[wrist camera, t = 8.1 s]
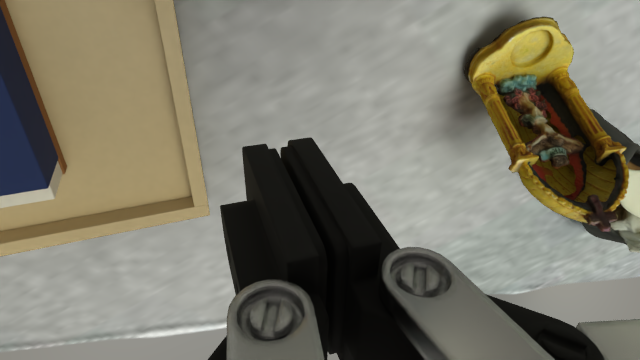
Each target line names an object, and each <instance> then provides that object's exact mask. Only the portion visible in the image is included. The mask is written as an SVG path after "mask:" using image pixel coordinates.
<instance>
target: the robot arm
mask: <svg viewBox="0 0 640 360" xmlns="http://www.w3.org/2000/svg"><path fill="white" fill-rule="evenodd" d="M242 152H243V164H244V174H245V185H246V196H247V201H243V202H237V203H232V204H226V205H220V209H221V217H222V224H223V231H224V238H225V244H226V250H227V255H228V260H229V265H230V270H231V275H232V279H233V284H234V288H235V293H236V296H235V297H234V299H233V301H232V302H231V304H230V306H229V310H228V315H227V336H226V337H225V339H224V340H223V341H222V342H221V344H220V345H219V346H218V347H217V349H216V350H215V351H214V353H213V354H212V355H211V356H210V358H209V359H208V360H327V352H329V354H334V353H337V355H338V357H339V359H340V360H640V319H633V320H616V321H599V322H582V323H578V325H577V327H576V328H575V327H574V326H572V325H569V324H567V323H565V322H563V321H561V320H558V319H555V318H552V317H549V316H546V315H544V314H541V313H538V312H535V311H532V310H529V309H526V308H523V307H520V306H518V305H515V304H512V303H509V302H506V301H503V300H500V299H497V298H495V297H492V296H489V295H486V294H484V293H483V292H482V291H481V290H480V289H479V288H478V287H477V286H476V285H475V284H474V283H473V282H472V281H471V280H470V279H468V278H467V277H466V276H465V275H464V274H463V273H462V272H461V271H460V270H459V269H458V268H457V267H456V266H455V265H454V264H453V263H451V262H450V261H449V260H448V259H446V258H445V257H444V256H442V255H441V254H439V253H436V252H434V251H432V250H429V249H424V248H420V247H406V248H402V249H400V248H399V247H398V245H397V244H396V243H395V241H394V240H393V238H392V237H391V236H390V234H389V233H388V231H387V230H386V229H385V227H384V226H383V224H382V223H381V222H380V220H379V219H378V217H377V216H376V215H375V213H374V212H373V210H372V209H371V207H370V206H369V205H368V203H367V202H366V200H365V199H364V198H363V196H362V195H361V193H360V192H359V191H358V189H357V188H356V187H355V185H354V184H352V183H346V184H343V183H342V182H341V180H340V179H339V177H338V176H337V174H336V173H335V171H334V170H333V168H332V167H331V165H330V164H329V162H328V161H327V159H326V158H325V156H324V155H323V153H322V152H321V150H320V149H319V148H318V146H317V145H316V143H315V142H314V140H313V139H312V138H303V139H296V140H289V141H288V147H282V148H281V158H280V156H279V154H278V152H277V150H276V149H275V148H274V149H268V147H267V145H266V144H260V145H253V146H246V147H243V148H242Z"/></svg>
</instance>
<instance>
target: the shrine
mask: <svg viewBox="0 0 640 360" xmlns="http://www.w3.org/2000/svg"><path fill="white" fill-rule="evenodd" d="M573 54H574V51H573V47H572V46H571V44H570V42H569V41H568V39H567V37H566V36H565V35H564V34H562V33H561V31H560V29H559V26H558V23H557V22H556V21H554V19H553V18H549V17H540V18H538V17H536V18H532V19H529V20H524V21H521V22H520V23H518V24H517V25H515V26H512V27H510V28H507V29H505V30H504V31H503V32H502V33H501V34H500V35H499V36H498V37H497V38H495V39H494V40H493V42H492V43H491V44H489V45H487V46H485V47H483V48H478V49H476V50H475V51H474V52H473V54H472V55H471V56H470V58H469V60H468V62H467V64H466V66H465V70H464V74H465V77H466V79H467V80H468V82H470V83H471V84H472V87H473V89H474V90H475V91H476V93H477V94H478V95H480V96H481V99H482V101H483V103H484V104H485V106H486V109H487V111H488V114H489V116H490V117H491V120H492V122H493V123H494V126H495V127H496V129H497V131H498V133H499V135H500V137H501V140H502V142H503V144H504V145H505V148H506V150H507V151H508V154H509V156H510V157H511V162H512V164H511V165H510V167H509V170H510V171H511V172H512V173H513V172H518V173H519V176H520V178H521V181H522V183H523V184H524V186H525V187H526V188H527V189H528V191H529V192H530V193H531V194H532V195H533V196H534V197H535V198H537V199H538V200H539V201H540V202H541V203H542V204H543V205H545V206H546V207H548V208H550V209H551V210H553V211H554V212H556V213H558V214H561V215H563V216H565V217H568V218H571V219H574V220H577V221H580V222H585V223H588V225H590V224H591V225H593V226H597V227H598V228H599V229H600V230H601V231H602V232H604V231H606V232H609V231H610V227H611V223H609V222H612V221H616V220H617V219H618V215H617V214H616V213H614V212H612V211H613V210H615V209H616V207H617V206H618V205H620V201H621V200H623V199H624V198H625V197H626V196H624V195H625V194H627V190H626V189H628V184H629V181H628V179H629V168H628V166H627V165H626V164H625V163H626V160H625V157H624V155H623V154H622V152H623V151H625V150H626V148H627V147H625V146H622V145H621V144H620V143H619V142H613V141H612V140H611V137H610V136H609V135H607V134H606V132H605V131H604V130H603V129H602V127H601V126H600V125H599V123H598V121H597V119H596V118H595V117H594V115H593V113H592V112H591V111H590V109H589V107H588V106H587V105H586V103H585V102H584V100H583V98H582V97H581V96H580V94H579V90H578V89H577V86H576V85H575V83H574V82H573V81H572V80H571V79H570V78H569V73H568V72H567V70H568V66H569V65H570V63H571V62H572V57H573ZM494 84H496V85H497V86H498V93H497V90H496V87H495V86H494Z"/></svg>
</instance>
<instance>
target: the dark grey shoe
mask: <svg viewBox="0 0 640 360" xmlns="http://www.w3.org/2000/svg"><path fill="white" fill-rule="evenodd" d="M590 111H591V112H592V113H593V115H594V117H595V118H596V119H597V121H598V123H599V125H600V126H601V127H602V129H603V130H604V131H605V132H606V134H607V135H609V136H610V137H611V140H612V141H613V142H619V143H620V144H621V145H622V146H625V147H627V148H626V150H625V151H623V152H622V154H623V155H624V157H625V160H626V163H625V164H626V165H627V166H628V168H629V179H628V181H629V184H628V189H626V190H627V194H625V195H624V196H626V197H625V198H624V199H623V200H621V201H620V205H618V206H617V207H616V209H615V210H613V211H612V212H614V213H616V214H617V215H618V219H617V220H616V221H612V222H609V223H611V227H610V231H609V232H606V231H604V232H602V231H601V230H600V229H599V228H598V227H597V226H593V225H591V224H590V225H588V223H585V222H582V224H583V226H584V227H585V229H586V230H587V231H588V232H589V233H590V234H592V235H594V236H596V237H599V238H602V239H606V240H611V241H615V242H620V243H624V244H626V245H627V246H628V247H629V251H630V252H639V253H640V146H639V145H638V144H636V143H634V142H633V141H632V140H631V139H630V138H628V137H627V136H626V135H625V134H623V133H622V132H621V131H619V130H618V129H617V128H615V127H614V126H613V125H611V124H610V123H609V122H607V121H606V120H604V118H603V117H602V116H601V115H600V114H598V113H597V112H595V110H592V109H590Z"/></svg>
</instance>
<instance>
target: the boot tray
mask: <svg viewBox="0 0 640 360" xmlns="http://www.w3.org/2000/svg"><path fill="white" fill-rule="evenodd" d="M5 3H6V5H7V8H8V11H9V13H10V16H11V19H12V21H13V24H14V26H15V29H16V32H17V34H18V37H19V40H20V42H21V45H22V48H23V50H24V53H25V56H26V58H27V61H28V64H29V66H30V69H31V72H32V74H33V77H34V80H35V82H36V85H37V88H38V90H39V93H40V96H41V98H42V101H43V104H44V106H45V109H46V112H47V114H48V117H49V119H50V122H51V125H52V127H53V130H54V133H55V135H56V138H57V141H58V143H59V146H60V149H61V151H62V154H63V157H64V159H65V162H66V165H67V169H66V172H65V174H62V177H61V180H60V183H59V187H58V190H57V193H56V196H55V199H52V200H46V201H40V202H34V203H28V204H22V205H16V206H10V207H4V208H0V256H5V255H10V254H15V253H20V252H25V251H30V250H35V249H40V248H45V247H50V246H55V245H61V244H66V243H71V242H76V241H81V240H86V239H91V238H96V237H101V236H106V235H111V234H116V233H121V232H127V231H132V230H137V229H142V228H147V227H152V226H157V225H162V224H167V223H172V222H177V221H182V220H187V219H193V218H198V217H203V216H208V215H210V212H209V206H208V200H207V194H206V189H205V183H204V177H203V171H202V165H201V159H200V154H199V148H198V142H197V136H196V130H195V124H194V119H193V113H192V107H191V101H190V95H189V89H188V84H187V78H186V72H185V66H184V60H183V54H182V49H181V43H180V37H179V31H178V25H177V19H176V14H175V8H174V2H173V0H5Z"/></svg>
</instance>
